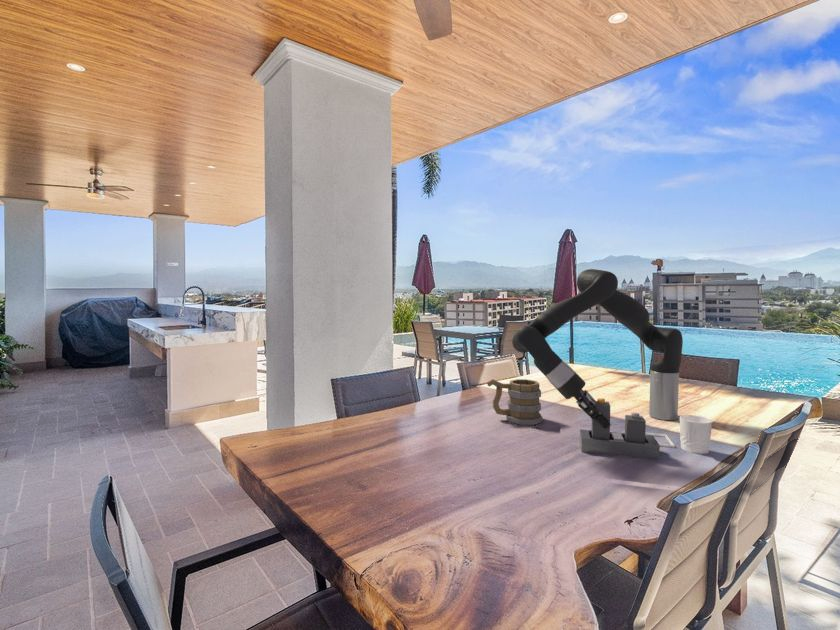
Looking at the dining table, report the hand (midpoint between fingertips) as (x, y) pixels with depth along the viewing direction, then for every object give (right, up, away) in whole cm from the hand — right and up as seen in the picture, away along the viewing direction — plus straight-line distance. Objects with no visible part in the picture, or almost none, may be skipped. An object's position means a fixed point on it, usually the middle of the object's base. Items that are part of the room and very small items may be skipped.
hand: (607, 423), depth 123 cm
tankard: (-20, -7, +33) cm, 39 cm away
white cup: (+26, -9, +1) cm, 27 cm away
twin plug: (+7, -8, -2) cm, 11 cm away
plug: (-2, -4, +1) cm, 5 cm away
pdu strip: (+3, -9, 0) cm, 9 cm away
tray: (+17, -8, +8) cm, 21 cm away
